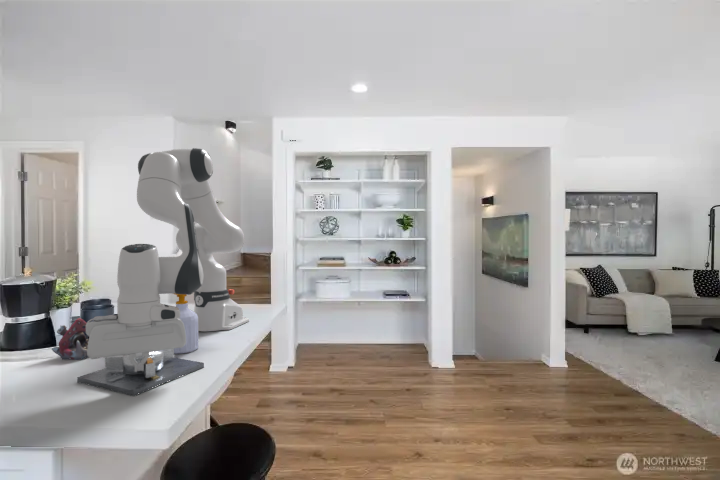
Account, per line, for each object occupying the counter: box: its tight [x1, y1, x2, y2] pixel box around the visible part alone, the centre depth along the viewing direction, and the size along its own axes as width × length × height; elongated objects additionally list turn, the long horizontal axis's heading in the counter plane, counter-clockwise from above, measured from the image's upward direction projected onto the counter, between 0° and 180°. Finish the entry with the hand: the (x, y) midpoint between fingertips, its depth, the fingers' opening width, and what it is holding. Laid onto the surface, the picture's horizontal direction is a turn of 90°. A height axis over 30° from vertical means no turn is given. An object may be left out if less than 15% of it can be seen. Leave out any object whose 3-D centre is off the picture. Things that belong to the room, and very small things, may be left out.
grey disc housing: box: [104, 349, 175, 378], centre depth 97 cm, size 14×16×4 cm
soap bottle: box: [173, 293, 199, 355], centre depth 119 cm, size 9×9×25 cm
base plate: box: [76, 357, 205, 397], centre depth 99 cm, size 20×20×1 cm
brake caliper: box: [51, 317, 89, 361], centre depth 114 cm, size 11×11×12 cm
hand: (139, 371), depth 92 cm, fingers closed
